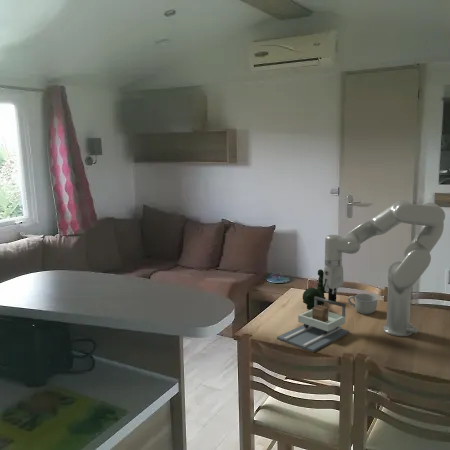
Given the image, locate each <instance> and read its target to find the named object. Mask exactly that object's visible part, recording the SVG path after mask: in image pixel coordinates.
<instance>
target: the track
mask: <svg viewBox="0 0 450 450" xmlns="http://www.w3.org/2000/svg"><path fill="white" fill-rule="evenodd" d="M342 327H343V326H342V325H340V326H339V327H338V328H334V329H332V330H330V331H329V332H327V334H323V332H322V331H323V330H322V329H319V328H316V327H313V326H310V325H309V327H308V328H305V327H304V324H302V325H300V326H298V327H296V328H293V329H291V330H289V331H287V332H285V333H283V334H281V335H277V337H276V338H277V340H279V341H281V342H284V343H287V344H290V345H292V346H295V347H297V348H300V349H303V350H305V351H309V352H311V353H315V352H316V351H318V350H319V349H321V348H324V347H326V346H327V345H329V344H331V343H334V342H335V341H337V340H338V339H341V338H342V337H345V336H346V335H348V334H349V333H350V330H348V329H344V328H342Z"/></svg>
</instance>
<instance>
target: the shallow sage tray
mask: <svg viewBox="0 0 450 450" xmlns="http://www.w3.org/2000/svg"><path fill="white" fill-rule="evenodd" d="M317 300H319V301H323V302H324V303H327V304H331V305H333V306H334V305H335V306H339V307H342V308H341V314H339V313H335V312H331V311H329V310H328V321H326V322H322V321H319V320H316V319H313V318H312V309H311V310H307V311H305V312H302V313H300V314H298V315H297V316H298V317H297V319H298V320H297V321H298V323H301V324H302V325H304V327H305V328H308V327H309V325H310V326H313V327H316V328H319V329H322V330H323V331H322V332H323V334H327V332H329V331H330V330H332V329H334V328H338V327H339V326H342V325H344V324H346V307H347V306H346V304H345V303H342V302H338V301H336V302H335V301H331V300H328V298H326V299H324V298H320V297H316V296H315V297H314V307H316V306H318V305H317Z"/></svg>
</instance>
